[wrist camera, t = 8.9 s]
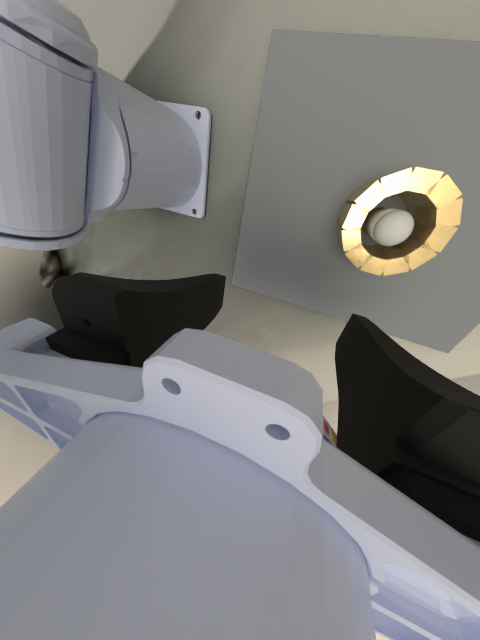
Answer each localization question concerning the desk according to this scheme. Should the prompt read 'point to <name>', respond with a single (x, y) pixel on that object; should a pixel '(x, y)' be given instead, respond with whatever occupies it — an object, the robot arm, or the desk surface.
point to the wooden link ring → (421, 202)
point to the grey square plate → (363, 177)
